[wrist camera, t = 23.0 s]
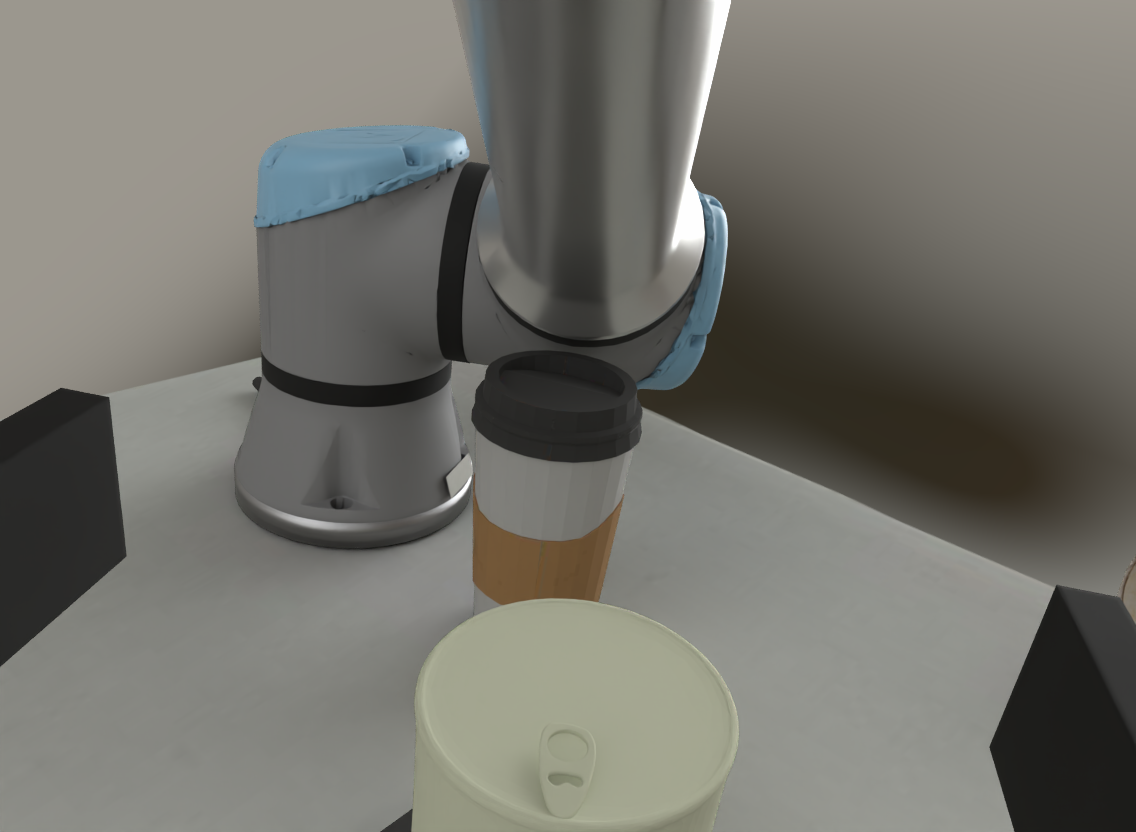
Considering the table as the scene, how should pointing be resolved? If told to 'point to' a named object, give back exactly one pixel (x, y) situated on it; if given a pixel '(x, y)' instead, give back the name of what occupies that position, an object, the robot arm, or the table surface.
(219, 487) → the table surface
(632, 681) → the can
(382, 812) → the table surface
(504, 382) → the coffee cup
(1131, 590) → the ornate beige goblet
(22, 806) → the table surface
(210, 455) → the table surface
